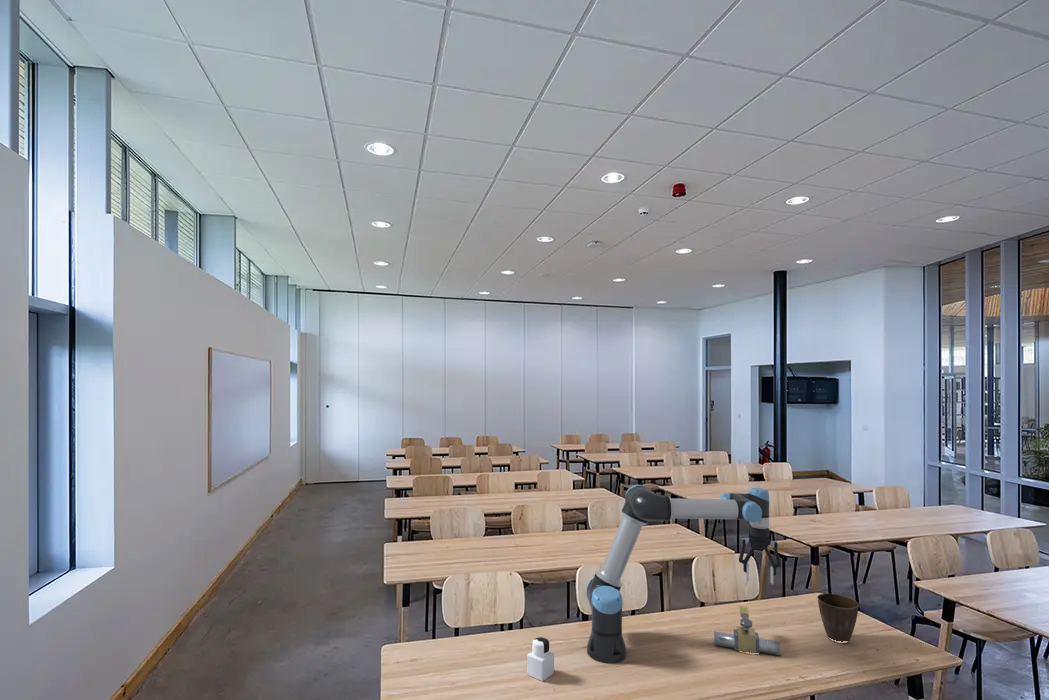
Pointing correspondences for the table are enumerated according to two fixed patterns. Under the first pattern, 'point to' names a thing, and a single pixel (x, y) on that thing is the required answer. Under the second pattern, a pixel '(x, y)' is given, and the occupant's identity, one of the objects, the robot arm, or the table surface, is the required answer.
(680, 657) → the table surface
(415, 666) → the table surface
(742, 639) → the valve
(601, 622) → the robot arm
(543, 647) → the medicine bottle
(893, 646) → the table surface
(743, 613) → the lever
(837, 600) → the plant pot
